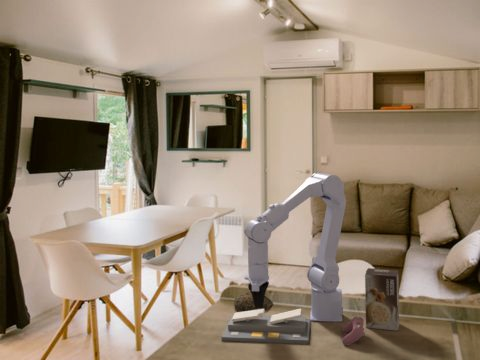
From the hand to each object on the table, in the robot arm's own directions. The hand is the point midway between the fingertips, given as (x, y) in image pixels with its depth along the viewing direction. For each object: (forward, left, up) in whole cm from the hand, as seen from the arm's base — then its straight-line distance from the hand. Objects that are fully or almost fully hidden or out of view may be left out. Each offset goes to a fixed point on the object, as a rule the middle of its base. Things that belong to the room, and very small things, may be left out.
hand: (259, 307), depth 152 cm
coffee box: (-35, -6, -7) cm, 36 cm away
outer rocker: (+3, 0, -3) cm, 4 cm away
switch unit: (-2, +1, -7) cm, 7 cm away
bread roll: (+4, -19, -7) cm, 21 cm away
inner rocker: (-8, 0, -3) cm, 8 cm away
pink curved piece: (-27, +4, -7) cm, 28 cm away
